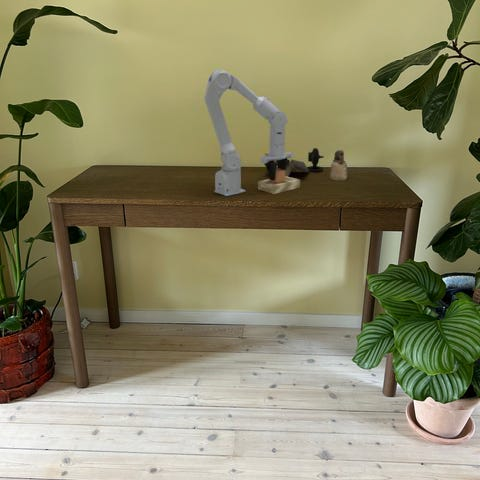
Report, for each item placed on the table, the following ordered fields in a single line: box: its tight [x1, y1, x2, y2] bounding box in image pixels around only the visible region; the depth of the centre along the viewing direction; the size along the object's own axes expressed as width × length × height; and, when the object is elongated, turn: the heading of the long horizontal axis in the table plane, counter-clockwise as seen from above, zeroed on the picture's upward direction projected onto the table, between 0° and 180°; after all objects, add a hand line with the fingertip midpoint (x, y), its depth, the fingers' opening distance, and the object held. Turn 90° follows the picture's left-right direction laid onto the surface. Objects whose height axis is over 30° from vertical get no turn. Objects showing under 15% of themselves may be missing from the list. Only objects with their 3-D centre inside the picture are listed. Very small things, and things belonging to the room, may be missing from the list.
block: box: [270, 167, 285, 184], centre depth 187 cm, size 4×4×7 cm
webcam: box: [306, 147, 325, 173], centre depth 214 cm, size 8×8×10 cm
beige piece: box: [257, 176, 301, 195], centre depth 189 cm, size 14×9×3 cm, turn 130°
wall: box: [264, 153, 311, 177], centre depth 206 cm, size 19×10×17 cm
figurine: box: [329, 149, 348, 182], centre depth 200 cm, size 7×7×12 cm
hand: (276, 178), depth 187 cm, fingers closed on block, 4 cm apart
